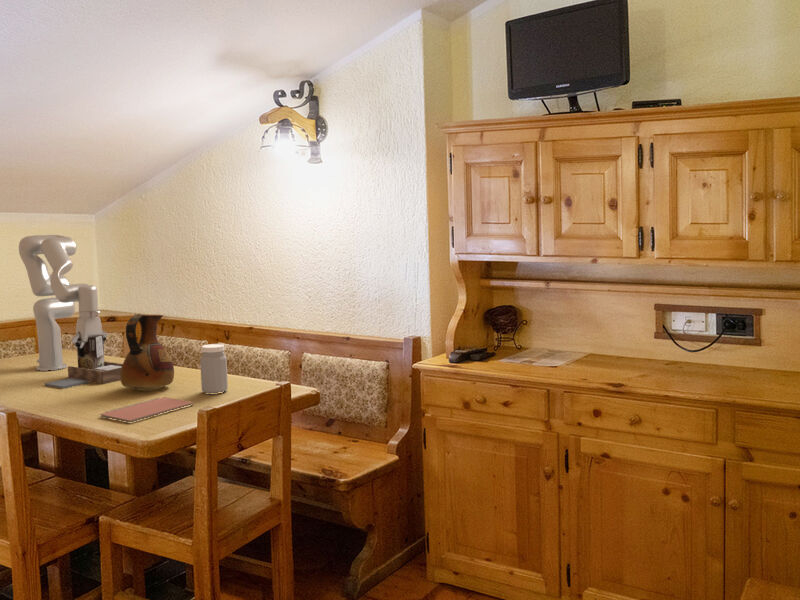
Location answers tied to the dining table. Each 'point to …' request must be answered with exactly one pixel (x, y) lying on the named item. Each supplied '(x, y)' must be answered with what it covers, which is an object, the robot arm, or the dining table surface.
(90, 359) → the coffee box
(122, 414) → the notebook
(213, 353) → the jar
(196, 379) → the dining table surface
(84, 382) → the slate mat
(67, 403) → the dining table surface
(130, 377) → the ceramic pitcher
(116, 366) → the grey offcut
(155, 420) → the dining table surface
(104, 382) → the tray
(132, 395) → the dining table surface
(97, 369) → the grey offcut
